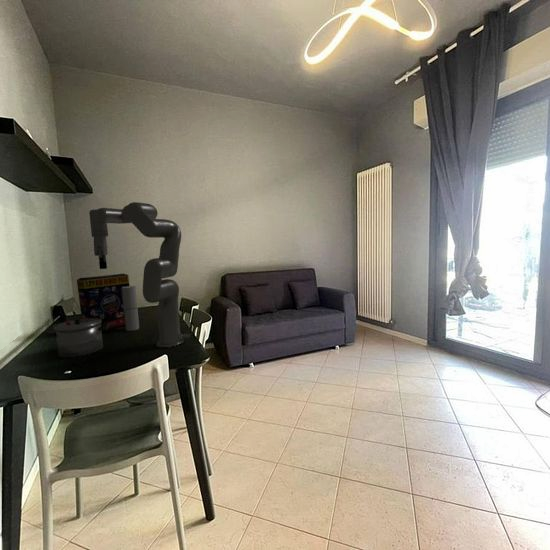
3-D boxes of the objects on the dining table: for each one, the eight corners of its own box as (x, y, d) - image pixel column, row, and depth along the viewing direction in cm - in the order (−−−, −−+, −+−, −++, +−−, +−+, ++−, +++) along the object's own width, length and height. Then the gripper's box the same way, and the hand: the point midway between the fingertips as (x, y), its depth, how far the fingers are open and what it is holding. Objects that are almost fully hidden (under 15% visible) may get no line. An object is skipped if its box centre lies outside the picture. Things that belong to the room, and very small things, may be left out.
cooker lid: (104, 318, 157) (104, 312, 157) (97, 327, 139) (96, 320, 139) (60, 323, 150) (60, 317, 150) (47, 333, 133) (46, 326, 132)
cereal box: (126, 321, 201) (120, 272, 198) (135, 323, 194) (129, 272, 191) (81, 332, 180) (74, 278, 177) (89, 334, 173) (82, 278, 170)
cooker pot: (112, 340, 160) (110, 317, 159) (106, 352, 142) (104, 327, 140) (58, 347, 152) (55, 324, 150) (44, 361, 134) (41, 334, 132)
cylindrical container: (134, 330, 177) (130, 287, 174) (123, 330, 178) (118, 288, 175) (141, 327, 184) (138, 286, 181) (131, 327, 185) (127, 286, 182)
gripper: (94, 234, 166) (98, 268, 168) (88, 233, 152) (92, 270, 154) (110, 234, 168) (113, 267, 170) (105, 233, 155) (109, 269, 157)
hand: (103, 268), depth 162 cm, fingers closed
